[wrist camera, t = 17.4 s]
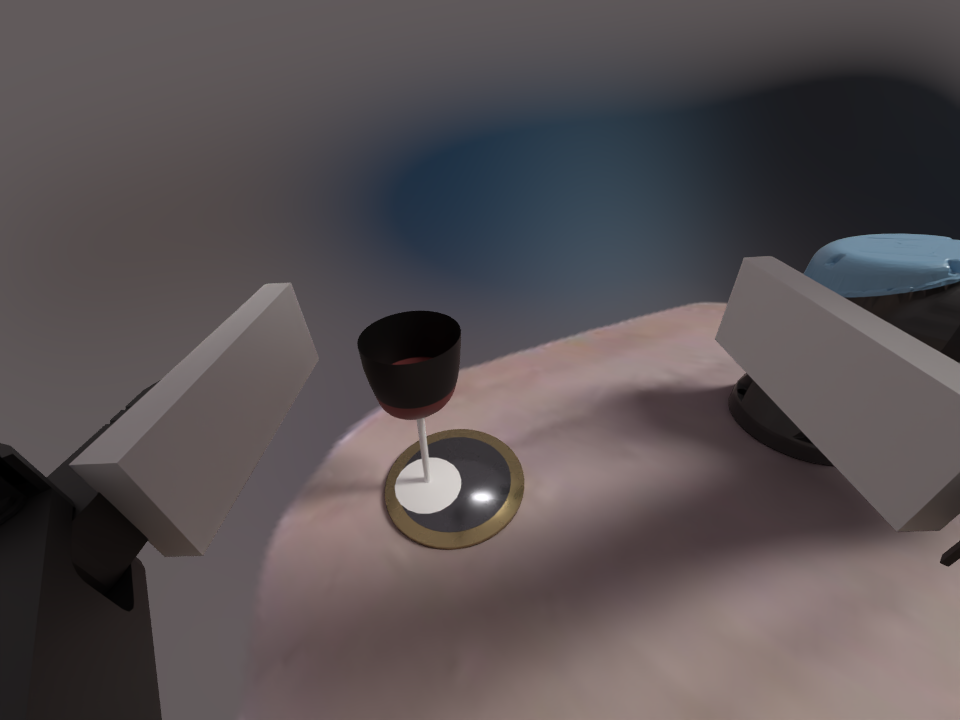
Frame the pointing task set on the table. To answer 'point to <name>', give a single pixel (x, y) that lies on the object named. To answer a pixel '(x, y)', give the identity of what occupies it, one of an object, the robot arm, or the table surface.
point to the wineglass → (416, 393)
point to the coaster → (462, 490)
